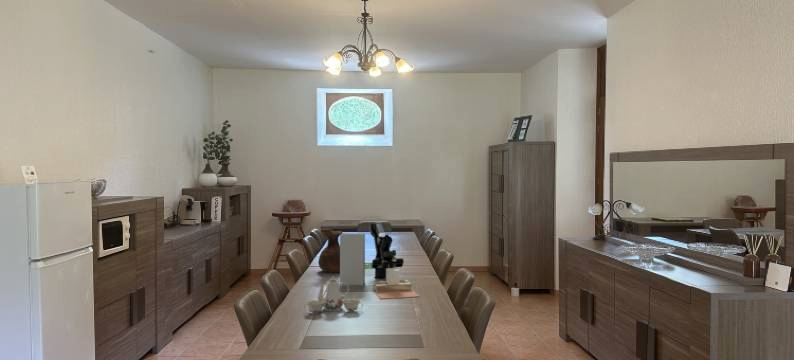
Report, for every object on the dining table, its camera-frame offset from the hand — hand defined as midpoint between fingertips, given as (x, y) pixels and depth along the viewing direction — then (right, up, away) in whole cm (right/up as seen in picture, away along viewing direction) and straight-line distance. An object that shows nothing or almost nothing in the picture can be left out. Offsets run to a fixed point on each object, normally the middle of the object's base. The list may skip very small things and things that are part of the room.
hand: (389, 275), depth 296 cm
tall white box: (-23, -7, +9) cm, 25 cm away
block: (+2, -3, -7) cm, 8 cm away
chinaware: (-27, -9, -47) cm, 55 cm away
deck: (+1, -7, -5) cm, 9 cm away
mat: (+4, -8, -17) cm, 19 cm away
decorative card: (-8, -6, +63) cm, 64 cm away
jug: (-38, -6, +44) cm, 59 cm away
